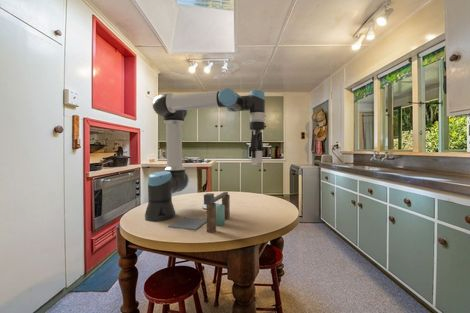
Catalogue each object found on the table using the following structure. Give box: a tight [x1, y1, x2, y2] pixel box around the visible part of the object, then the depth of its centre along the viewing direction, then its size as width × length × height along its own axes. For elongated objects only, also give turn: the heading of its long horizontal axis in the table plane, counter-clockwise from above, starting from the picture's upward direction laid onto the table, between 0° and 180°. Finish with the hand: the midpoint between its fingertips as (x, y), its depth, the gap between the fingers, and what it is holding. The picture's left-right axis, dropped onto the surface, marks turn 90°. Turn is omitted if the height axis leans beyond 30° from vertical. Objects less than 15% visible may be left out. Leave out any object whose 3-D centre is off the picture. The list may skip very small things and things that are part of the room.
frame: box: [206, 194, 231, 234], centre depth 104 cm, size 3×21×12 cm, turn 162°
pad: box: [167, 216, 207, 231], centre depth 105 cm, size 14×14×1 cm
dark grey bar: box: [203, 191, 229, 206], centre depth 102 cm, size 3×22×4 cm, turn 162°
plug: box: [216, 203, 226, 227], centre depth 104 cm, size 5×5×9 cm
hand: (257, 163), depth 112 cm, fingers open, 13 cm apart
